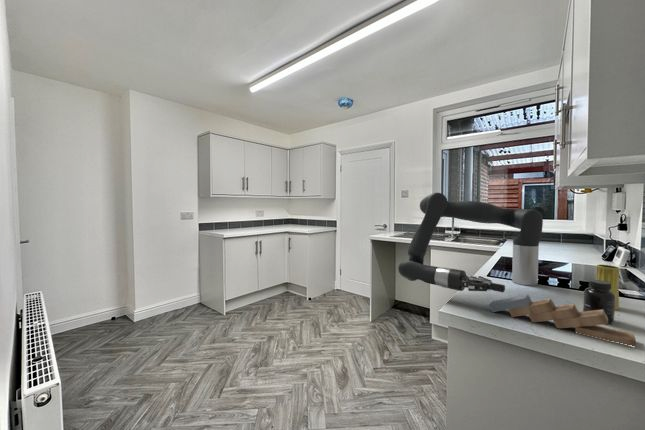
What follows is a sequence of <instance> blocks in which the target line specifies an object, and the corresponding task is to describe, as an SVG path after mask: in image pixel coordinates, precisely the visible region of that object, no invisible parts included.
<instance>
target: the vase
mask: <svg viewBox="0 0 645 430" xmlns="http://www.w3.org/2000/svg"><path fill="white" fill-rule="evenodd" d="M595 280H602V281H606V282H610V283H611V288H612V289H611V290H610V291H611V292H613V293H614V294H615V296H616V299H615V311H617V310H619V309H620V304H619V303H620V297H619V296H620V295H619V291H620V290H619V288H620V286H619V283H620V282H619V280H620V267H619V266H615V265H610V264H597V265H596V278H595Z"/></svg>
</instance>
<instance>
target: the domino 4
mask: <svg viewBox="0 0 645 430" xmlns="http://www.w3.org/2000/svg"><path fill="white" fill-rule="evenodd" d="M578 312H579V313H578V317H575V318H566V319H558V320H552V322H553V324H554V325H555V327H556V329H557V328H559V329H567V328H576V327H581V326H593V325H597V326H603V325H609V324H608V317H607V315H606V314H605V312H604V310H603V309H602V310H593V311H585V312H583V311H578Z"/></svg>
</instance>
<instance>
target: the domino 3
mask: <svg viewBox="0 0 645 430" xmlns="http://www.w3.org/2000/svg"><path fill="white" fill-rule="evenodd" d="M579 312H580V311H579V310H578V308H577V306H576V305H575V303H569V304H562V305H555V308H554V310H553V311H549V312H542V313H536V314H529V315H528V317H529V319H530V321H531V323H532V322H533V323H539V322H547V321H553V320H558V319H566V318H575V317H578V313H579Z"/></svg>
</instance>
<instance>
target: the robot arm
mask: <svg viewBox="0 0 645 430" xmlns="http://www.w3.org/2000/svg"><path fill="white" fill-rule="evenodd" d="M419 208H420V211H421V212H422V213H423V214H424V217H423V219H422V221H421V223H420V225H419V226H418V228H417V229H416V231H415V232H414V235H413V237H412V239H411V242H410V244H409V247H408V249H407V255H408V257H409V258H408V260H404V261H402V262H400V263H399V264H398V270H397V271H398V273H399V274H400V275H401V276H402V277H403V278H405V279H407V280H408V281H411V282H415V281H418V280H419V281H421V282H424V283H427V284H430V285H435V286H438V287H441V288H445V289H450V290H455V291H458V292H463V291H464V290H465V289H467V290H468V291H469V292H489V291H494V292H499V293H504V292H505V290H506V286H505V284H501V283H496V282H492V280H491V279H488V278H486V277H484V276H480V275H479V276H475V275H470V276H468V275H467V272H466V271H465V270H463V269H462V270H461V269H457V268H450V267H442V266H441V267H440V266H434V265H427V264H424V261H425V256H426V253H427V251H428V247H429V246H430V245H429V244H430V241H431V240H432V236H433V234H434V232H435V230H436V228H437V226H438V224H439V222H440V221H441V218H442V217H446V218H453V219H458V220H462V221H468V222H472V223H480V224H489V225H490V224H499V225H503V226H508V227H511V228H515V229H518V230H520V233H519V235H517V236H515V237H513V239H512V270H511V281H512V283H514V284H518V285H522V286H532V287H533V286H538V283H539V282H538V280H539V255H540V253H539V251H540V250H539V248H540V247H539V245H540V242H541V240H542V236H543V235H542V234H543V226H544V225H543V224H544V223H543V222H544V219H543V216H542V213H541V212H540V210H539V211H538V210H537V209H532V208H531V209H529V208H528V209H527V208H503V207H500V206H496V205H494V204H492V203H488V202H482V201H475V200H461V201H459V200H458V201H449V200H448V199H447V196H446V195H444V194H443V193H441V192H433V193H430V194H428V195H426V196H425V197H423V198H422V200H421V201H420V202H419Z"/></svg>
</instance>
